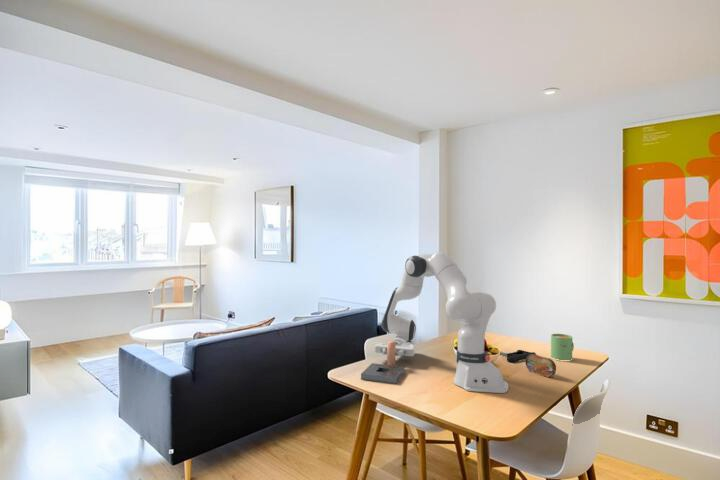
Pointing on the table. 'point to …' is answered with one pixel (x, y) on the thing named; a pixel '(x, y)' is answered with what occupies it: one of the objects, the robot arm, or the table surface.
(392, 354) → the pin
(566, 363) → the table surface
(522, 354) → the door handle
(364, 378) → the socket plate
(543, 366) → the tin
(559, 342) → the mug
